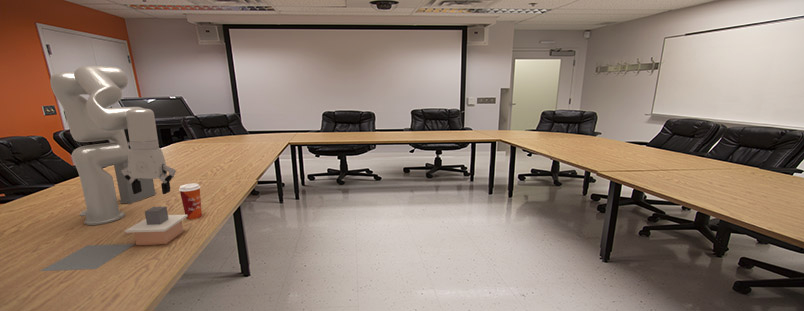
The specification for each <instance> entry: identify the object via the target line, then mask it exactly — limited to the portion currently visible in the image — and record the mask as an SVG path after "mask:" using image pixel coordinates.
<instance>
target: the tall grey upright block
mask: <svg viewBox="0 0 804 311" xmlns="http://www.w3.org/2000/svg"><path fill="white" fill-rule="evenodd" d="M129 150H131V148H129ZM113 167H114V173H115V178H116V183H117V188H118V193H119V198H120V199H119V204H129V205H131V204H133V203H135V202H138V201H139V202H140V201H142V200H144V199H146V198H149V197H152V196H155V195H157V192H156V189H155V182H154V179H139V180H138V181H140V182H141V188H142V191H141V192H139V193H137V194H133V190H132V184H131V183H129V180H127V179H126V178H125V176H124V175H123V173H122V172H121V170H123V169H125V168H127V167H128V162H126V163H123V164H118V165H113Z"/></svg>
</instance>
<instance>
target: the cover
mask: <svg viewBox="0 0 804 311" xmlns="http://www.w3.org/2000/svg"><path fill="white" fill-rule="evenodd" d="M168 213H169V212H168V206H152V207H150V208H148V209H146V210H145V211H144V216H145V218H144V219H143V220H141V221H139V222H137V223H135V224H134V225H132V226H131V227H129V228H127V229H125V230H124V233H129V234H130V233H134V232H164V231H167V230H168V229H170V228H171V227H173V226H174V225H176V224H177V223H179V222H180V221H182V222H183V221H184V220H185V219H186V217H188V215H185V214H168Z"/></svg>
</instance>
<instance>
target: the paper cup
mask: <svg viewBox="0 0 804 311" xmlns="http://www.w3.org/2000/svg"><path fill="white" fill-rule="evenodd" d="M178 192H179V194H180V198H181V202H182V206H183V211H184V215H188V217H186V218H185V219H186V220H189V219H191V220H196V218H197V219H199V218H202V215H203V214H202V201H201V186H200V184H199V183H196V182H195V183H193V182H192V183H186V184H182V185H180V186H179V189H178Z"/></svg>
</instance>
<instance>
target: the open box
mask: <svg viewBox="0 0 804 311" xmlns="http://www.w3.org/2000/svg"><path fill="white" fill-rule="evenodd" d="M183 226H184V224H183V220H182V221H180V222H179V223H177V224H176V225H174V226H173V227H171V228H170V229H168V230H167V231H164V232H133V234H134V235H133V236H134V240H135V245H136V246H148V245H149V246H150V245H167V244H168V243H170V242H172V240H174V239H176V238H177V237H178V236H180V235H182V233H184V231H185V230H184V227H183Z"/></svg>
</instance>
